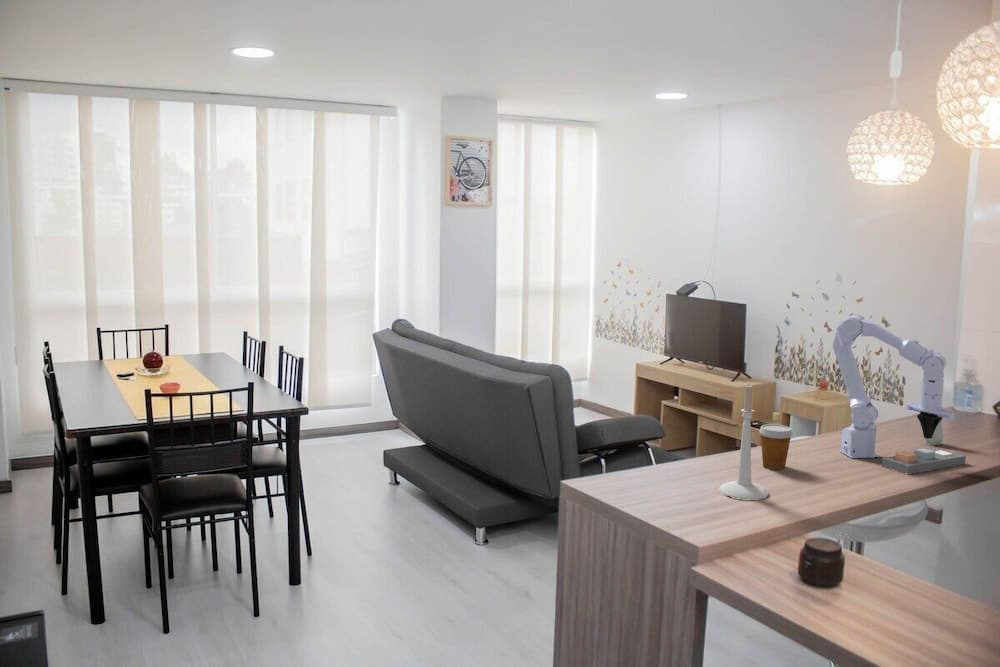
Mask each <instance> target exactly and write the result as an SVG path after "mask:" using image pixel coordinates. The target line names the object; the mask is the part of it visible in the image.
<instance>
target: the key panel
mask: <svg viewBox="0 0 1000 667" xmlns="http://www.w3.org/2000/svg"><path fill="white" fill-rule="evenodd" d="M931 450H932V451H940V450H942V451H945V452H949V453H952V454H953V455H952V456H947V457H943V456H939V455H936V454H935V459H929V460H924V459H920V458H917V459H916V462H912V463H904V462H901V461H898V460H895V457H896V455H893V456H888V457H882V458H881V459H882V460H881V466H882V465H883V466H886V467H888V468H887V469H889V468H891V469H890V470H892V469H894V470H893V471H895V470H897V471H896V472H898V471H900V472H899V473H901V472H903V473H902V474H904V473H907V474H908V475H910V474H909V473H914V474H916V473H915V472H919V473H921V472H920V471H924V472H929V471H928V470H930V471H933V470H934V469H935V470H941V469H945V468H946V469H947V468H950V467H957V466H962V465H966V457H967V456H966V455H963V454H960V453H956V452H953V451H950V450H946V449H942V448H935V449H931ZM912 453H913V454H914V452H912ZM883 466H882V467H883ZM886 467H885V468H886ZM940 468H941V469H940ZM907 474H906V475H907Z"/></svg>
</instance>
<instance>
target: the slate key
mask: <svg viewBox="0 0 1000 667" xmlns="http://www.w3.org/2000/svg"><path fill="white" fill-rule="evenodd" d="M932 450H933V449H928V448H924V447H923V448H916V449H914V451H913V453H914V454H916V455H917V458H920V459H924V460H929V459H935V451H932Z"/></svg>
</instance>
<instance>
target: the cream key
mask: <svg viewBox="0 0 1000 667" xmlns="http://www.w3.org/2000/svg"><path fill="white" fill-rule="evenodd" d="M935 454H936V455H939V456H943V457H947V456H952V455H953V454H952V453H949V452H945V451H942V450H940V451H935Z"/></svg>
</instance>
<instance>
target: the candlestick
mask: <svg viewBox="0 0 1000 667" xmlns="http://www.w3.org/2000/svg"><path fill="white" fill-rule="evenodd" d="M752 407H753V385H750V384H748V385H744V397H743V408H742V409H740V412H741V413H742V414H741V416H742V418H743V422H742V431H741V433H742V434H741V442H740V451H739V459H738V460H739V462H738V472H737V479H736V480H731V481H728V482H725V483H723V484H721V485H720V486H719V487H718V488H719V489H718V490H720V491H721V492H722V493H724V494H725V495H727V496H730V497H734V498H740V499H750V500H755V501H757V500H756V499H762V500H764V499H763V498H765V499H767V498H768V497H769V491H768V490H767V489H766V487H764V486H763V485H760V484H758V483H756V482H753V481H752V446H751V445H752V440H751V439H752V438H751V437H752V436H751V434H752V433H751V431H752V430H751V429H752V428H751V427H752V426H751V425H752V424H751V419H752V418H753V413H755V410H754V409H752ZM720 491H719V492H720ZM727 496H726V497H727ZM767 496H768V497H767ZM766 497H767V498H766Z"/></svg>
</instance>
